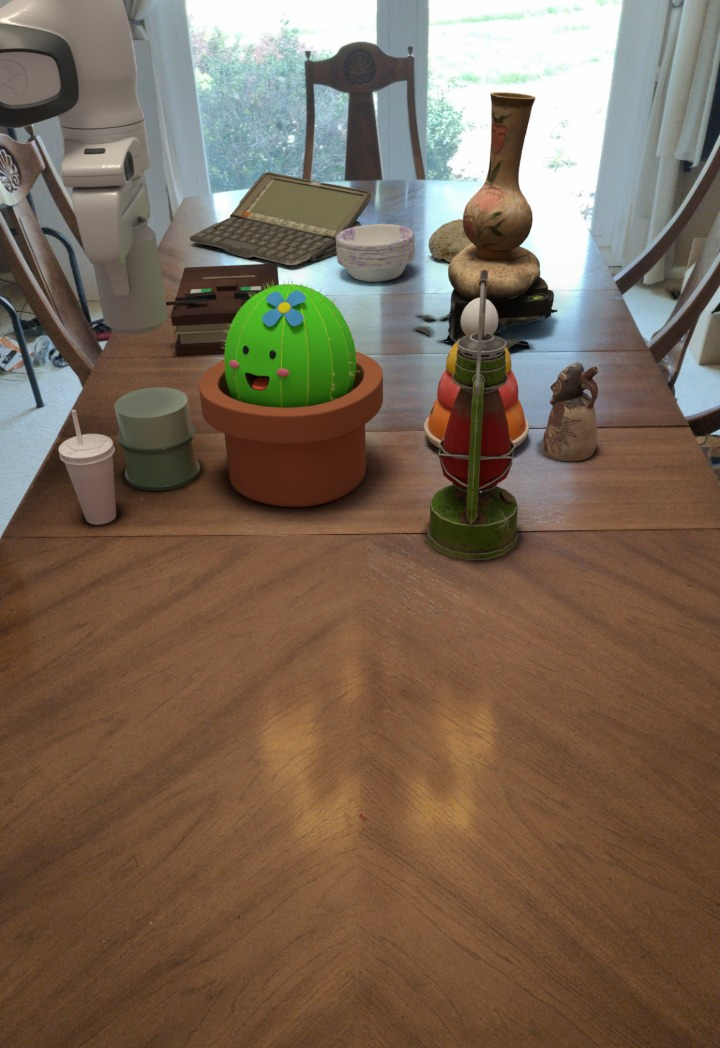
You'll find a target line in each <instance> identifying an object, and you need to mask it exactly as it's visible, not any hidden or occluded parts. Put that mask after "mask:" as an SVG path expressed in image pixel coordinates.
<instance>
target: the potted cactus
mask: <svg viewBox="0 0 720 1048" xmlns="http://www.w3.org/2000/svg"><path fill="white" fill-rule="evenodd" d="M268 282H269V281H268ZM263 284H264V283H263ZM266 284H267V283H266ZM308 286H309V284H306V285H303V284H294V279H291V280H289V279H287V283H286V281H283V284H282V283H281V284H279V285H276V286H274V284H273V286H272V287H270V285H269V287H268V285H267V289H265V286H264V289H265V290H263V291H261V292H259V293H257V294H256V295H254V296H253V297H251V298H250V299H249V300H248V301H247V302H246V303H245V304H244V305H243V306H242V307H241V308H240V310H239V311H238V312H237V314H236V316H235V317H234V319H233V321H232V323H231V325H229V324H228V325H229V326H230V328H229V327H227V328H229V331H227V333H228V334H227V338H226V341H225V340H223V341H224V342H226V343H225V353H224V354H223V355H224V358H222V357H221V359H220V360H219V361H218V362H216V363H215V364H213V365H212V366H211V367H209V368H208V369H207V370H206V371H205V373H203V375H202V376H201V378H200V380H199V384H198V393H199V400H200V407H201V414H202V417H203V419H204V421H205V422H206V423H207V424H208V425H209V426H210V427H212V428H213V429H215V430H216V431H218V432H221V433H222V434H224V442H225V450H226V451H225V452H226V457H227V458H226V459H227V466H228V475H229V480H230V483H231V485H232V487H233V488H234V490H235V491H237V492H238V493H239V494H241V495H242V496H244V497H246V498H247V499H250V500H252V501H255V502H258V503H261V504H265V505H270V506H277V507H284V508H306V507H314V506H315V507H316V506H319V505H324V504H328V503H330V502H333V501H336V500H338V499H341V498H342V497H344V496H346V495H348V494H349V493H350V492H352V491H353V490H354V489H356V487H358V486H359V484H360V483H361V482H362V481H363V479H364V478H365V477H364V476H365V474H366V471H367V469H366V468H367V450H366V447H367V446H366V424H368V423H369V422H370V421H372V420H373V419H374V418H375V417H376V416H377V414H379V412H380V410H381V408H382V406H383V404H384V403H383V402H384V374H383V373H384V372H383V369H382V366H381V365H380V364H379V362H377V361H376V360H375V359H373V358H372V357H371V356H369V355H366V354H364V353H363V352H359V349H357V348H356V346H355V341H356V339H357V338H353V333H354V331H353V330H352V327H353V326H354V324H352V325H350V326H349V325H348V323H347V321H346V320H345V318H344V315H343V314H342V312H341V311H340V309H339V308H338V307H337V305H336V304H335V303H334V302H335V301H336V298H333V297H331V298H330V299H329V298H328V297H327V296H328V293H326V294H323V293H321V292H322V290H323V289H320V291H318V290H316V289H315V288H313V287H308ZM254 294H255V293H254ZM249 295H250V296H252V295H253V294H249ZM332 298H333V299H332ZM227 330H228V329H227ZM224 332H226V330H225V331H224ZM222 333H223V332H222ZM221 346H222V345H221ZM221 348H222V347H221ZM223 348H224V347H223ZM223 348H222V349H223Z"/></svg>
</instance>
